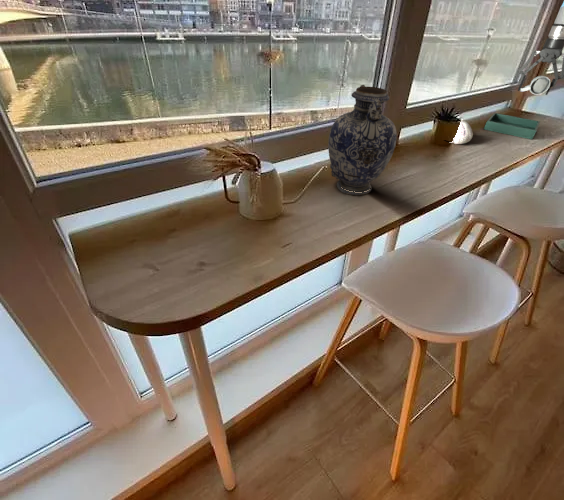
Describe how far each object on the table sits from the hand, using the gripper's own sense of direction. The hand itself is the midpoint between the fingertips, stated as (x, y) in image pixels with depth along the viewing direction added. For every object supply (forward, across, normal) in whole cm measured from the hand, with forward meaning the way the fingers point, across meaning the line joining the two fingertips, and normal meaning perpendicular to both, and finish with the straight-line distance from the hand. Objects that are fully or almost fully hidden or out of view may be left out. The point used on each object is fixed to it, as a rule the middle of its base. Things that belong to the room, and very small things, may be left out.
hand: (532, 92), depth 156 cm
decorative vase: (+13, -31, -122) cm, 126 cm away
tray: (+13, -1, -21) cm, 25 cm away
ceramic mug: (0, 0, 0) cm, 0 cm away
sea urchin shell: (+13, -18, -55) cm, 59 cm away
